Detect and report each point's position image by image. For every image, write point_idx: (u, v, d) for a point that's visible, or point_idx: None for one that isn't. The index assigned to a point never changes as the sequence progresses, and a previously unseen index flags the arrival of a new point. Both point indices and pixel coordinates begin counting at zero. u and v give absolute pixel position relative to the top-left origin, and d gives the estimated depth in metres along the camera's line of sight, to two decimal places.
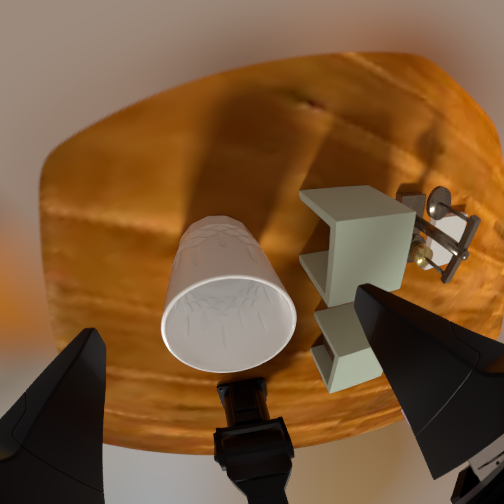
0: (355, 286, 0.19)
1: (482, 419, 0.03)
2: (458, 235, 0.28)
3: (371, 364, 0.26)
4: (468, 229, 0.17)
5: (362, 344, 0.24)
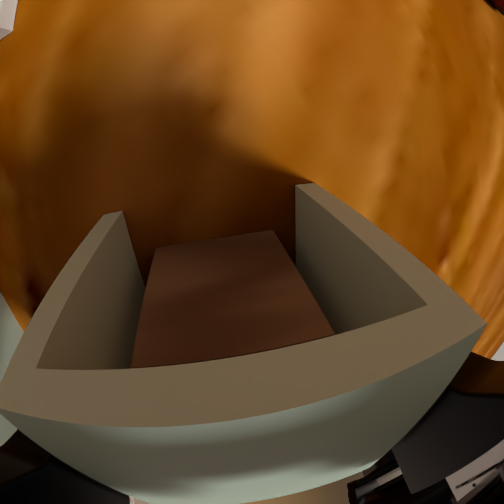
0: None
1: (457, 439, 0.03)
2: None
3: (257, 471, 0.03)
4: None
5: None
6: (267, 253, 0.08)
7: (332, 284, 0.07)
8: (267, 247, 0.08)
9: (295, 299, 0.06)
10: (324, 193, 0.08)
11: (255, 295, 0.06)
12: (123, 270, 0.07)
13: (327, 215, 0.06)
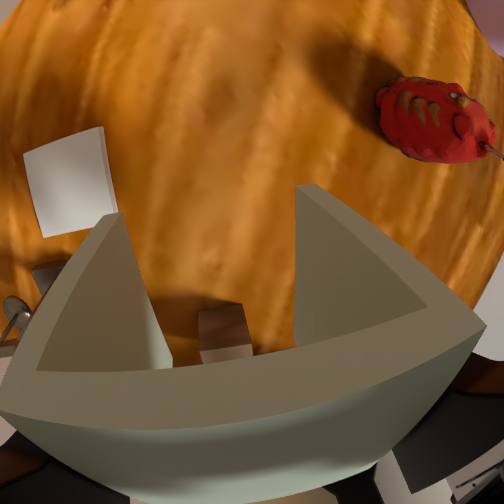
0: None
1: (457, 439, 0.03)
2: (53, 158, 0.14)
3: (257, 472, 0.03)
4: None
5: None
6: (238, 315, 0.23)
7: (332, 285, 0.07)
8: (238, 313, 0.23)
9: (243, 333, 0.21)
10: (324, 194, 0.08)
11: (232, 331, 0.21)
12: (123, 271, 0.07)
13: (327, 216, 0.06)
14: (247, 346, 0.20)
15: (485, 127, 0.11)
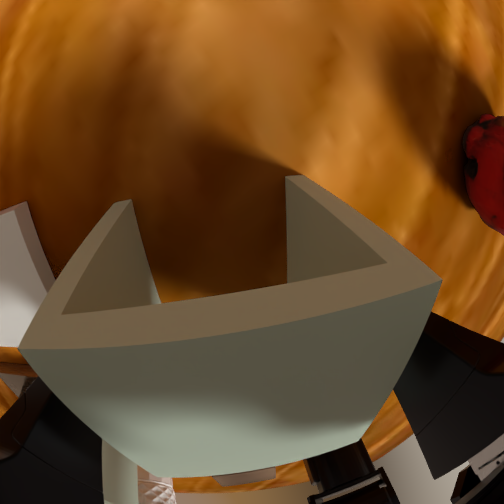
0: None
1: (482, 419, 0.03)
2: None
3: (246, 414, 0.04)
4: None
5: None
6: None
7: (316, 260, 0.08)
8: None
9: None
10: (310, 182, 0.09)
11: None
12: (132, 250, 0.08)
13: (310, 200, 0.08)
14: (270, 469, 0.13)
15: None
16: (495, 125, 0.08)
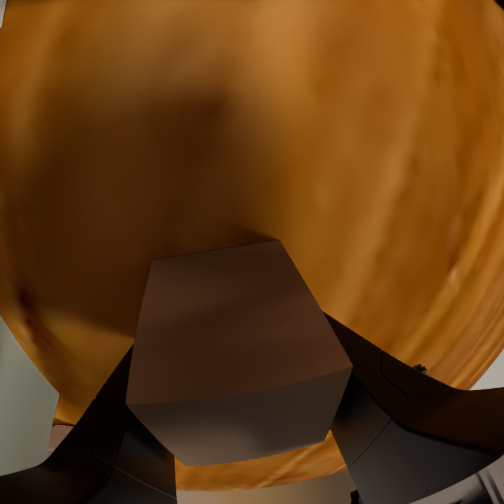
0: None
1: (403, 474, 0.03)
2: None
3: None
4: None
5: None
6: (275, 269, 0.07)
7: None
8: (274, 261, 0.07)
9: (308, 325, 0.05)
10: None
11: (263, 320, 0.05)
12: None
13: None
14: (333, 379, 0.04)
15: None
16: None
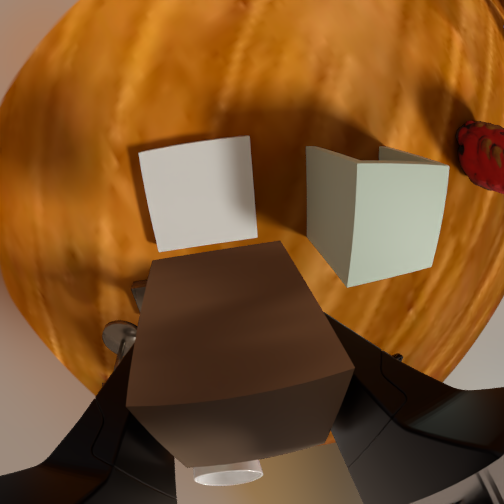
0: None
1: (403, 474, 0.03)
2: (186, 163, 0.16)
3: (407, 204, 0.13)
4: None
5: (346, 235, 0.14)
6: (275, 269, 0.07)
7: None
8: (275, 262, 0.07)
9: (309, 326, 0.05)
10: (392, 148, 0.17)
11: (264, 321, 0.05)
12: None
13: (398, 152, 0.16)
14: (335, 381, 0.04)
15: None
16: (473, 126, 0.16)
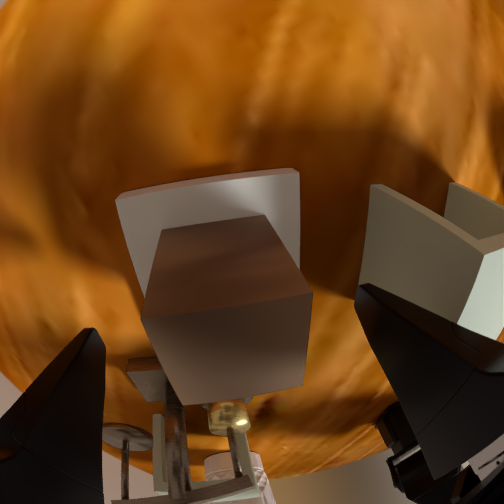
0: (240, 496, 0.15)
1: (482, 419, 0.03)
2: (195, 217, 0.10)
3: None
4: None
5: None
6: (259, 233, 0.09)
7: (479, 230, 0.11)
8: (259, 228, 0.09)
9: (281, 267, 0.07)
10: (467, 188, 0.12)
11: (247, 264, 0.07)
12: None
13: (478, 198, 0.10)
14: (299, 304, 0.06)
15: None
16: None
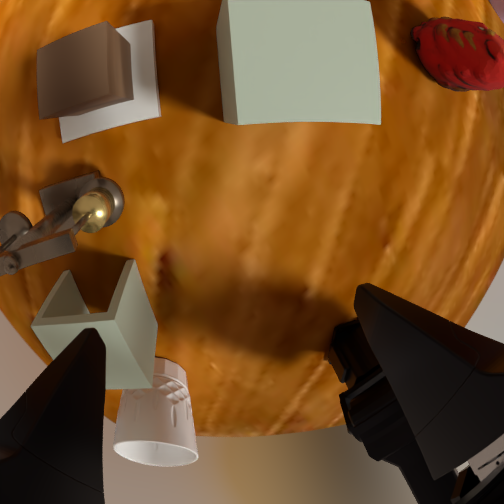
0: (123, 372, 0.16)
1: (482, 419, 0.03)
2: None
3: (310, 26, 0.08)
4: None
5: (230, 61, 0.09)
6: None
7: None
8: None
9: None
10: None
11: None
12: None
13: None
14: (100, 27, 0.07)
15: None
16: (428, 22, 0.12)
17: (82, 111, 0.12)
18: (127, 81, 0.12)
